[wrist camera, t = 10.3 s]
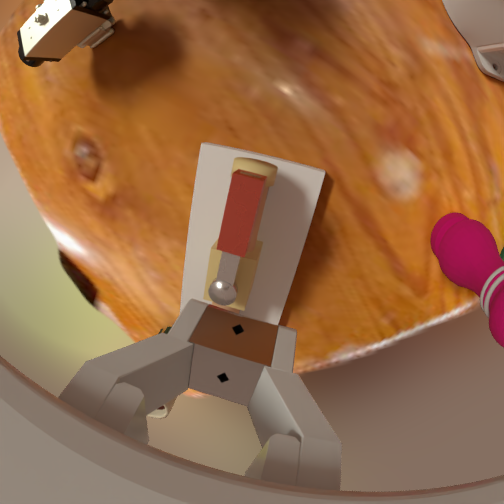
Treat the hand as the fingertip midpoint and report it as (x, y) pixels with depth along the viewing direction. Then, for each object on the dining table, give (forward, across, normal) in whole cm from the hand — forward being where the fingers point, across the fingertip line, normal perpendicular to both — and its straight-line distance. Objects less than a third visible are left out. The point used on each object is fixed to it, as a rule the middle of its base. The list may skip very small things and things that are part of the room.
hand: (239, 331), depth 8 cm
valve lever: (+17, +3, +6) cm, 18 cm away
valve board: (+25, +3, +11) cm, 27 cm away
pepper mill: (+26, -21, +1) cm, 33 cm away
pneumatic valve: (+25, +28, -14) cm, 40 cm away
